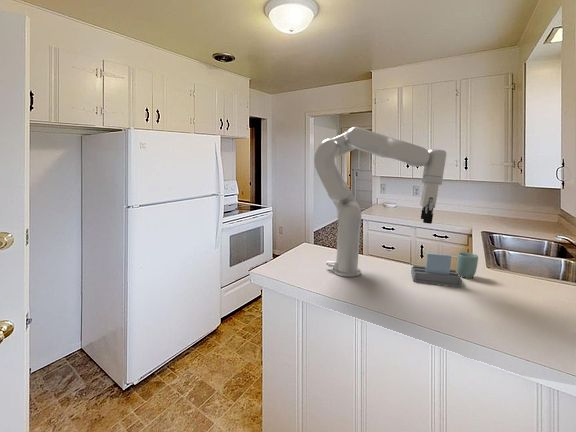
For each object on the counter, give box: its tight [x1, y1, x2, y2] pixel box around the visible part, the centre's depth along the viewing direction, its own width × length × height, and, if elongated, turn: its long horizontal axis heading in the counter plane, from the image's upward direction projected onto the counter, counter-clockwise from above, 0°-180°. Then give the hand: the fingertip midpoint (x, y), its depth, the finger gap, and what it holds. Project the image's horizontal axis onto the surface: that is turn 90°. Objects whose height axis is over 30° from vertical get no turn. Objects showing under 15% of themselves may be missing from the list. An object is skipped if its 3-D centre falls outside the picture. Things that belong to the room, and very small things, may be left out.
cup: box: [456, 251, 479, 279], centre depth 138 cm, size 8×8×10 cm
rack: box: [410, 264, 463, 288], centre depth 133 cm, size 18×11×4 cm, turn 74°
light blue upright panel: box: [425, 252, 452, 275], centre depth 130 cm, size 9×2×11 cm, turn 74°
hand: (425, 221), depth 131 cm, fingers open, 9 cm apart
